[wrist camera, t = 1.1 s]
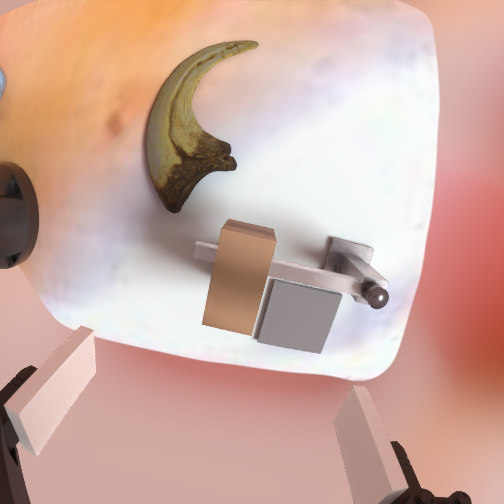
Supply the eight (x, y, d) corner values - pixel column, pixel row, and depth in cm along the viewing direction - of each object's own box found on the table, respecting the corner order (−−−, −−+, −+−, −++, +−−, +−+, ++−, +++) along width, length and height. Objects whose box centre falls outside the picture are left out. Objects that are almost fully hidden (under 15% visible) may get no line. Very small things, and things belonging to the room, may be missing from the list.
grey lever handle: (205, 253, 33) (183, 286, 23) (215, 208, 32) (195, 224, 22) (359, 288, 34) (392, 329, 24) (372, 247, 32) (413, 276, 22)
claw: (231, 215, 32) (227, 219, 29) (142, 204, 32) (129, 207, 29) (255, 45, 28) (255, 32, 24) (168, 43, 28) (159, 31, 24)
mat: (257, 339, 36) (257, 342, 35) (274, 279, 34) (274, 280, 33) (319, 351, 36) (320, 353, 35) (341, 293, 34) (342, 295, 33)
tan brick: (253, 287, 34) (251, 335, 23) (218, 279, 34) (201, 324, 23) (270, 219, 32) (276, 241, 21) (233, 211, 32) (221, 228, 21)
